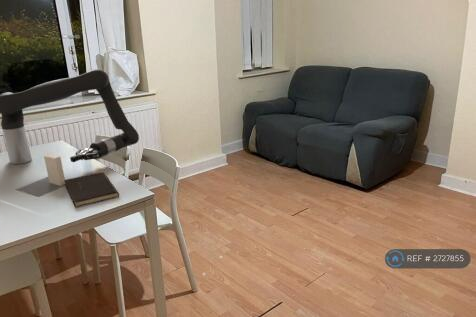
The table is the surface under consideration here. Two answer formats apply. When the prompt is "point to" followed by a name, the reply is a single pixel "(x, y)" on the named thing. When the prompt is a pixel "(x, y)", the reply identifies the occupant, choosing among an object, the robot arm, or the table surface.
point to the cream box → (54, 169)
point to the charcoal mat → (39, 187)
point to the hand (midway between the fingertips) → (71, 159)
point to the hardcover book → (90, 189)
